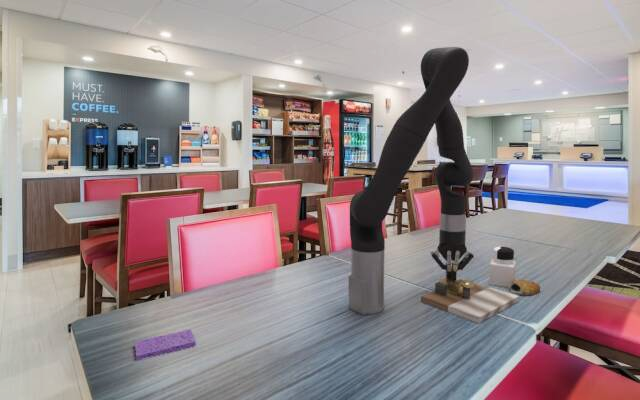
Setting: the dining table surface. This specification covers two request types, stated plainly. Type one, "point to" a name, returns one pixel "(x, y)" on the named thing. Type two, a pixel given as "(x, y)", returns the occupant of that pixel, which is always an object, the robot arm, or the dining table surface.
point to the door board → (470, 301)
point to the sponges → (164, 344)
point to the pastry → (524, 287)
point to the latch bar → (456, 285)
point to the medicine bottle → (502, 267)
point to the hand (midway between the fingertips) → (451, 282)
